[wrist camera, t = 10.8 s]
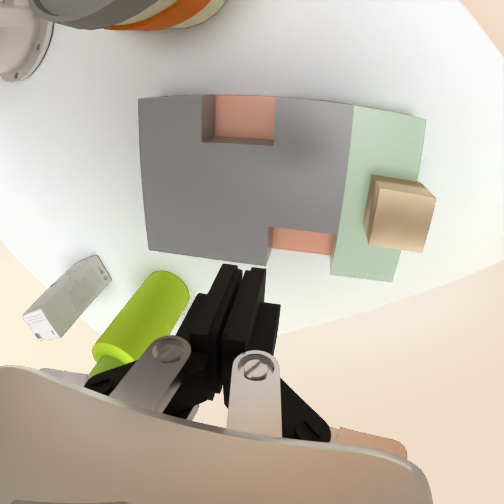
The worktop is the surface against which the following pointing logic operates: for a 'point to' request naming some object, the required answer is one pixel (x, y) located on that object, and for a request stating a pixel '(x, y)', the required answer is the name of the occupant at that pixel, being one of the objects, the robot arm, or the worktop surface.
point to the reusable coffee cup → (126, 13)
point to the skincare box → (67, 299)
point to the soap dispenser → (141, 321)
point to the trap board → (270, 177)
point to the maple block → (398, 213)
